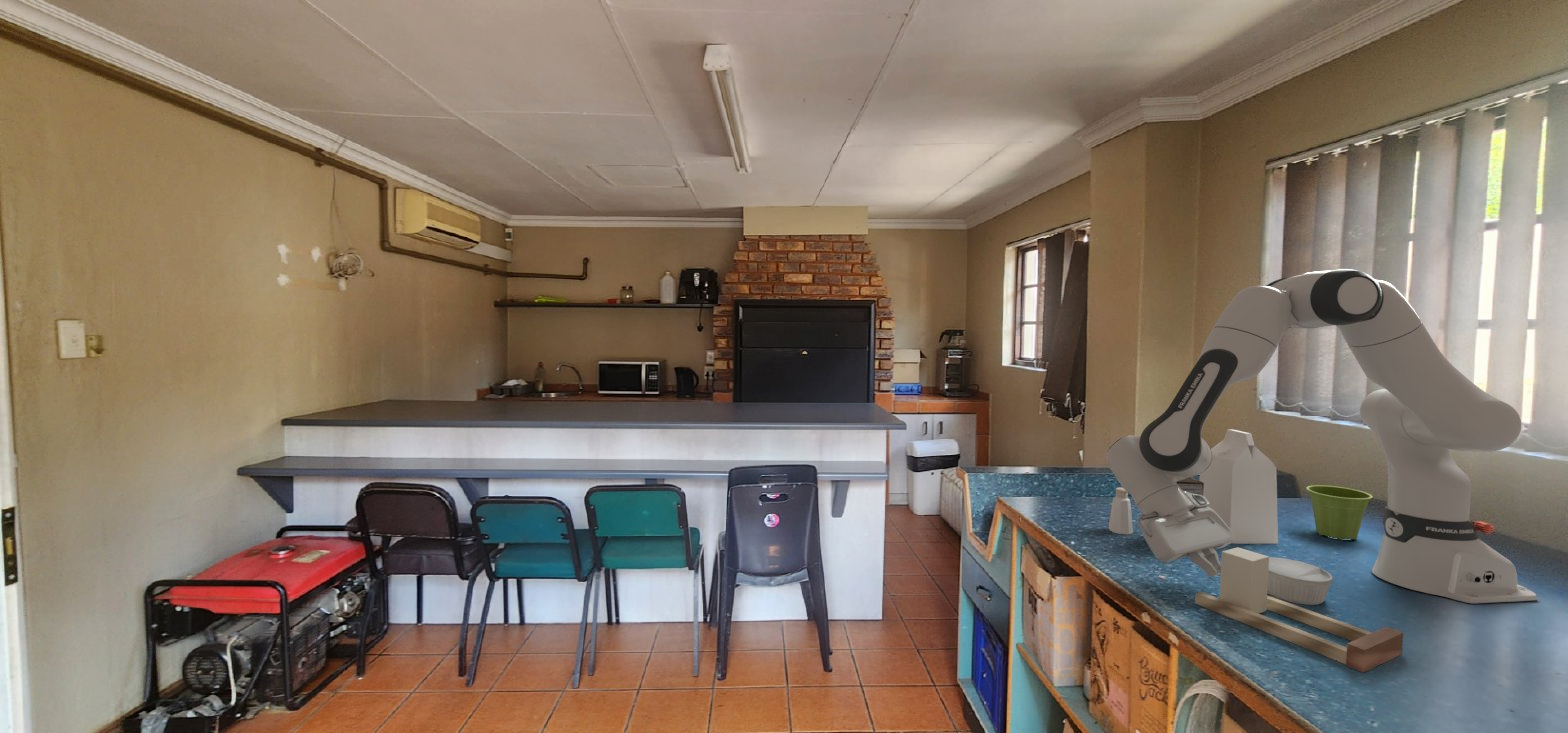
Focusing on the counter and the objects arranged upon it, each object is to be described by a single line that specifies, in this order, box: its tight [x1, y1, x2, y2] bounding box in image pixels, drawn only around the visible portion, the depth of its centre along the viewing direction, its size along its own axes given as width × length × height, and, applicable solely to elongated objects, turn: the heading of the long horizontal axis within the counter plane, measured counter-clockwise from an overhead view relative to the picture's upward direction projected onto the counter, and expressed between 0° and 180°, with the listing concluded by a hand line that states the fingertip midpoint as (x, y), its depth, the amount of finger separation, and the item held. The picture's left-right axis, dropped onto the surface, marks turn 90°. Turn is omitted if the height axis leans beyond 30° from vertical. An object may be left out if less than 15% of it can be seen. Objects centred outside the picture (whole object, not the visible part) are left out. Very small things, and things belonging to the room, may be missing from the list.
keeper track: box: [1194, 591, 1404, 674], centre depth 100 cm, size 24×12×4 cm, turn 24°
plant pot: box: [1305, 484, 1374, 540], centre depth 143 cm, size 12×12×11 cm
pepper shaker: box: [1108, 486, 1134, 535], centre depth 147 cm, size 5×5×11 cm
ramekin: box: [1267, 556, 1334, 606], centre depth 112 cm, size 11×11×5 cm
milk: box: [1199, 428, 1279, 545], centre depth 144 cm, size 12×12×26 cm
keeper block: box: [1219, 546, 1270, 614], centre depth 106 cm, size 5×5×10 cm
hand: (1218, 574), depth 110 cm, fingers closed
